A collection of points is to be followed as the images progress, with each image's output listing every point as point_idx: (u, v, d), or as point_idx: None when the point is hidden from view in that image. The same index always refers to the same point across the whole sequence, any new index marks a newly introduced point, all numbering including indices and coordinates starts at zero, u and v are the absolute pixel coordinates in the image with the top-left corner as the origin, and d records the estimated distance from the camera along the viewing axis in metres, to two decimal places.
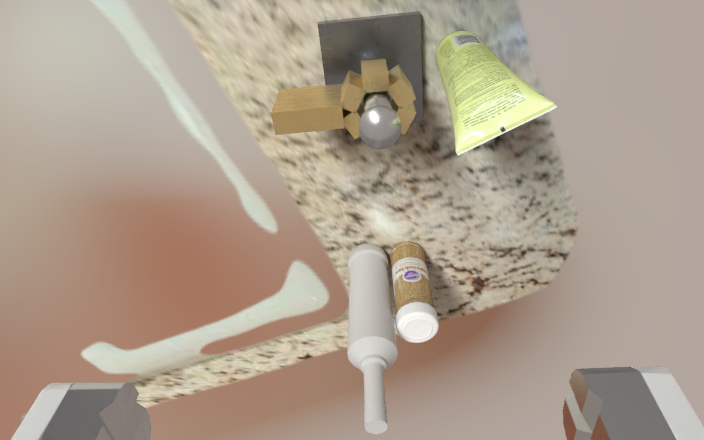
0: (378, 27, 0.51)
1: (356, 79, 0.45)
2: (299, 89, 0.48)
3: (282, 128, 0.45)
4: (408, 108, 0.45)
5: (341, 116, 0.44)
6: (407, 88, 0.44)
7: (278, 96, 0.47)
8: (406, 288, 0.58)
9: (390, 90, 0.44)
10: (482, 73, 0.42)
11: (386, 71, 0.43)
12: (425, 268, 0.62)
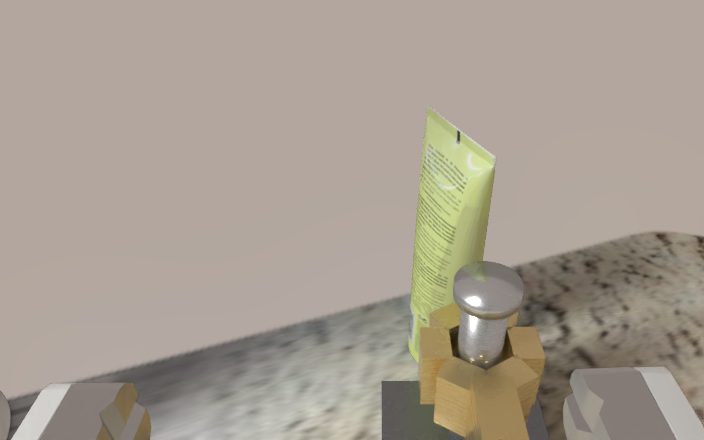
0: (395, 432, 0.35)
1: None
2: None
3: None
4: None
5: (490, 378, 0.25)
6: (445, 307, 0.30)
7: None
8: None
9: (448, 325, 0.29)
10: (421, 232, 0.35)
11: (420, 331, 0.29)
12: None
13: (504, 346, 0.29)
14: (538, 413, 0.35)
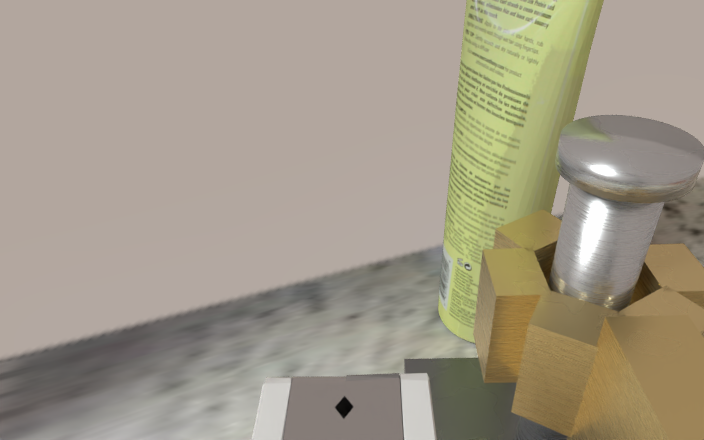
0: None
1: None
2: None
3: None
4: None
5: (644, 319, 0.13)
6: (519, 220, 0.18)
7: None
8: None
9: (531, 246, 0.17)
10: (466, 123, 0.23)
11: (483, 255, 0.17)
12: None
13: None
14: None
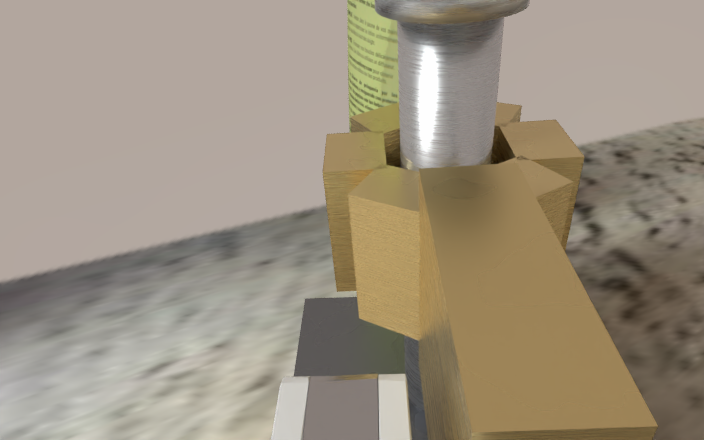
0: (317, 371, 0.20)
1: None
2: None
3: (585, 375, 0.06)
4: None
5: (464, 168, 0.10)
6: (380, 109, 0.16)
7: None
8: None
9: (383, 129, 0.15)
10: (353, 26, 0.20)
11: None
12: None
13: None
14: None
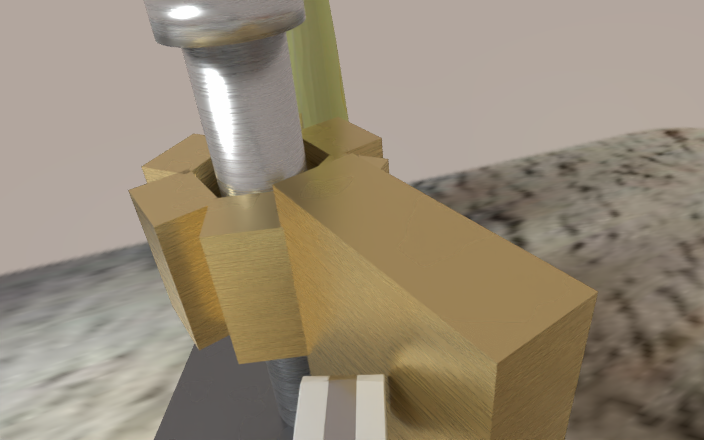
0: (199, 384, 0.20)
1: None
2: None
3: (531, 282, 0.07)
4: None
5: (312, 171, 0.11)
6: (169, 151, 0.15)
7: None
8: None
9: (187, 167, 0.14)
10: None
11: (132, 197, 0.13)
12: None
13: None
14: None
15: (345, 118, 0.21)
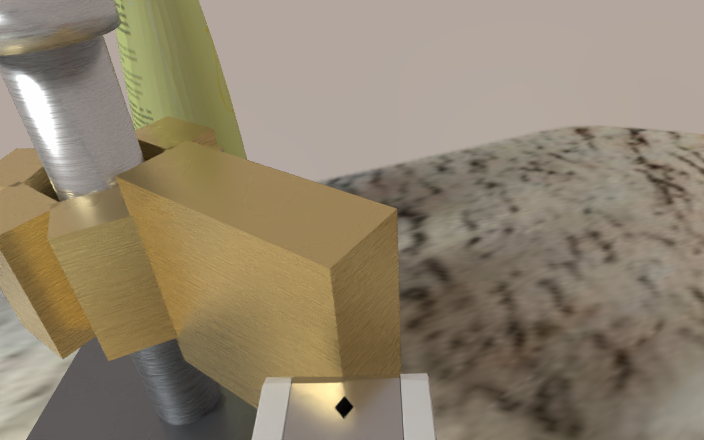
0: (81, 381, 0.21)
1: None
2: None
3: (349, 211, 0.10)
4: None
5: (153, 160, 0.12)
6: None
7: None
8: None
9: (17, 180, 0.14)
10: None
11: None
12: None
13: None
14: None
15: (228, 118, 0.22)
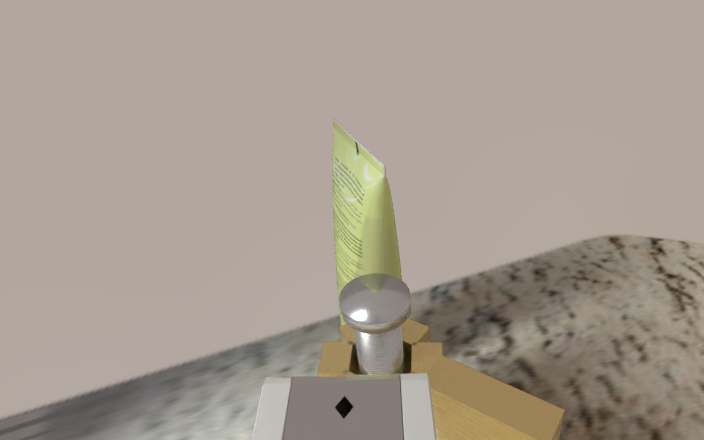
0: None
1: None
2: None
3: (544, 411, 0.22)
4: (344, 338, 0.29)
5: (432, 370, 0.25)
6: (322, 357, 0.28)
7: None
8: None
9: (344, 368, 0.27)
10: (337, 247, 0.34)
11: None
12: None
13: None
14: None
15: None
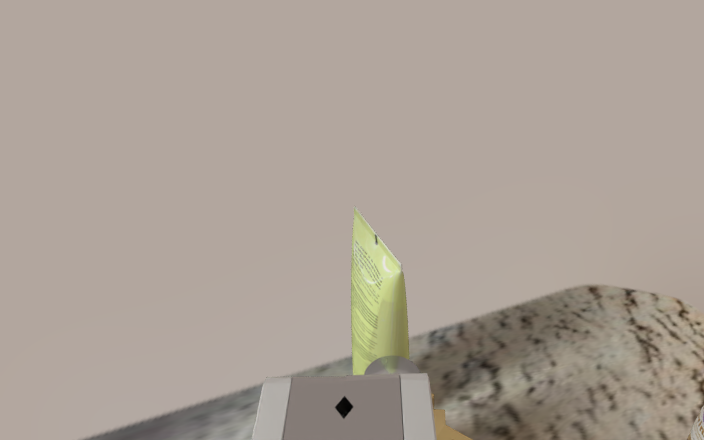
0: None
1: None
2: None
3: None
4: None
5: (437, 439, 0.30)
6: None
7: None
8: None
9: None
10: (354, 314, 0.39)
11: None
12: None
13: None
14: None
15: (408, 348, 0.40)
